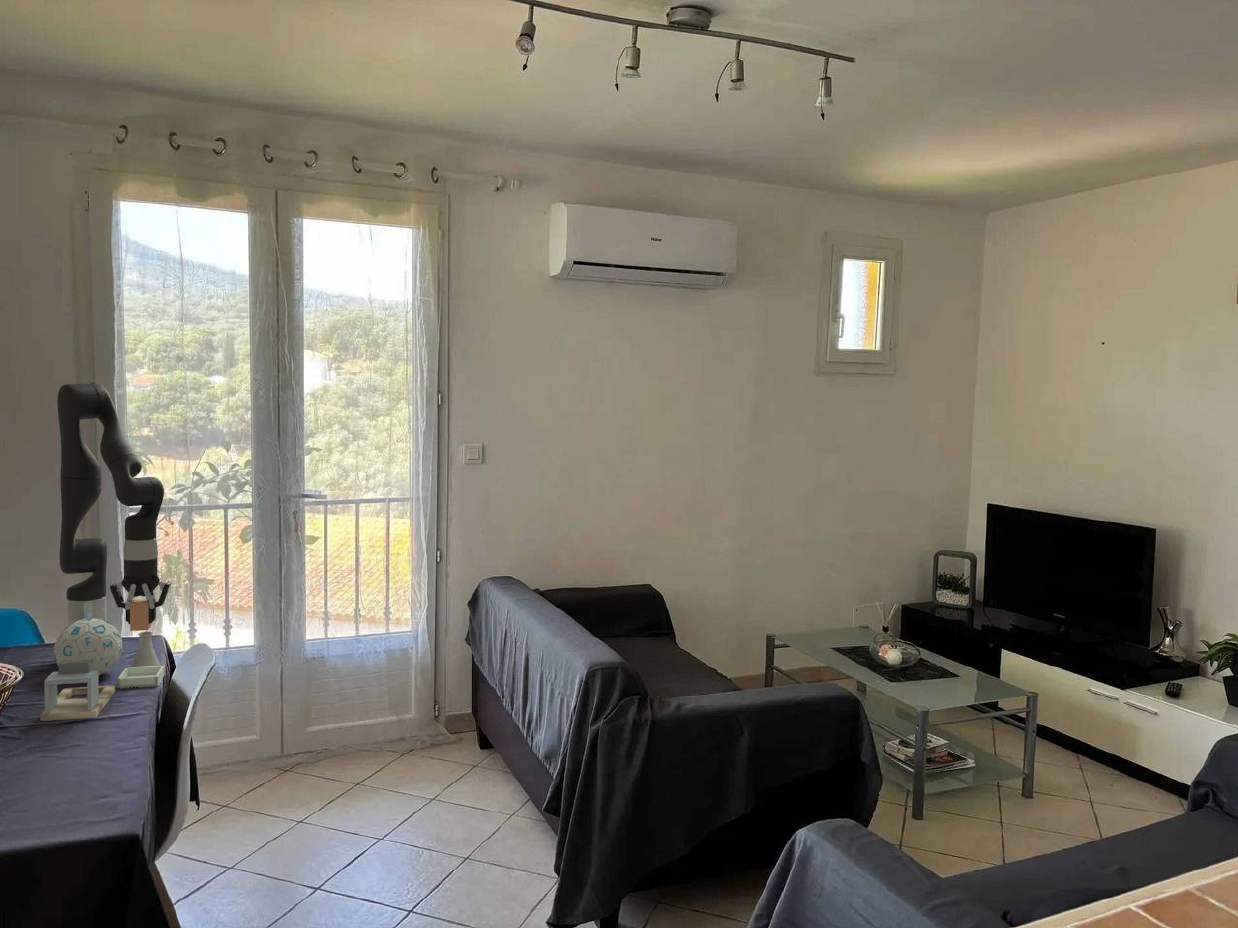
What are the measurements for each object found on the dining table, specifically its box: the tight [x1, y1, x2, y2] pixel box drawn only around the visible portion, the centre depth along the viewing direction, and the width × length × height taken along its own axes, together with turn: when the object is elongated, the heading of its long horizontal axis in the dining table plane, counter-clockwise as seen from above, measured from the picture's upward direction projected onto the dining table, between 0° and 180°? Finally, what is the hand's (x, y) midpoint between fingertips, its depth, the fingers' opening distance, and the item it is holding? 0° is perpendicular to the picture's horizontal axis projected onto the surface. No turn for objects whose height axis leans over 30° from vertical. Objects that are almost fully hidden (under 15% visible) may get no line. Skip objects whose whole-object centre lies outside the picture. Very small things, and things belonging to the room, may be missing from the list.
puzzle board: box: [39, 685, 116, 722], centre depth 205 cm, size 18×11×2 cm, turn 17°
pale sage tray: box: [116, 665, 166, 689], centre depth 222 cm, size 9×9×2 cm
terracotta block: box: [129, 598, 152, 632], centre depth 221 cm, size 4×4×7 cm
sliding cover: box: [43, 660, 100, 713], centre depth 199 cm, size 6×9×10 cm, turn 107°
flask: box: [130, 630, 162, 667], centre depth 231 cm, size 7×7×10 cm
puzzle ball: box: [53, 618, 123, 677], centre depth 224 cm, size 15×15×15 cm
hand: (141, 622), depth 221 cm, fingers closed on terracotta block, 4 cm apart
